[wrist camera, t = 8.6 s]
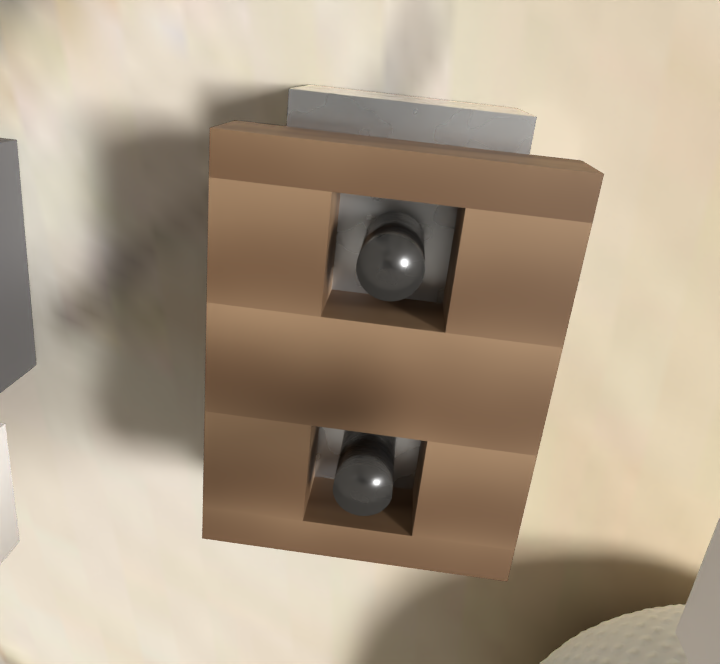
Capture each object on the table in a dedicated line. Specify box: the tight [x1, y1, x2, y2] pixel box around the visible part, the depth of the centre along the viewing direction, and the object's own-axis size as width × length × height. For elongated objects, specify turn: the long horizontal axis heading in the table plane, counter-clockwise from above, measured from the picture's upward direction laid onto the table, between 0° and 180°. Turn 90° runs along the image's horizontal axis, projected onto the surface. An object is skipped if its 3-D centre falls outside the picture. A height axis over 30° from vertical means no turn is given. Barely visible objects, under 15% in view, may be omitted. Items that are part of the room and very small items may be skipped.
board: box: [202, 120, 604, 581], centre depth 21 cm, size 13×10×2 cm
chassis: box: [287, 85, 537, 516], centre depth 22 cm, size 15×7×7 cm, turn 174°
